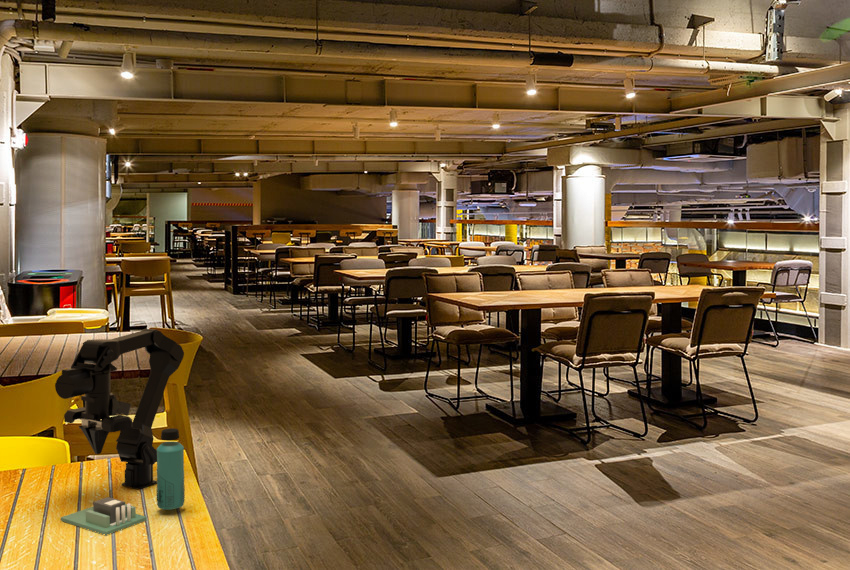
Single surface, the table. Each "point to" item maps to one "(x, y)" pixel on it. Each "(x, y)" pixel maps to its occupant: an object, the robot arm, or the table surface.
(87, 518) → the board
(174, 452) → the beverage bottle
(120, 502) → the plug
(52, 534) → the table surface
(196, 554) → the table surface
